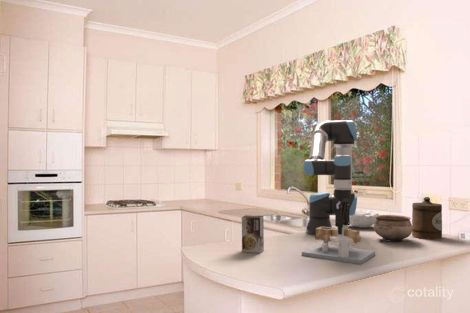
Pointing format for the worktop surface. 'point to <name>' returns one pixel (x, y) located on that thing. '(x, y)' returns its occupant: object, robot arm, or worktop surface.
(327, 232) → the link
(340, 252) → the pintle base
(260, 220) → the coffee box
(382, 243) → the worktop surface
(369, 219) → the bowl
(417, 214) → the wooden container
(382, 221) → the cooking pot
